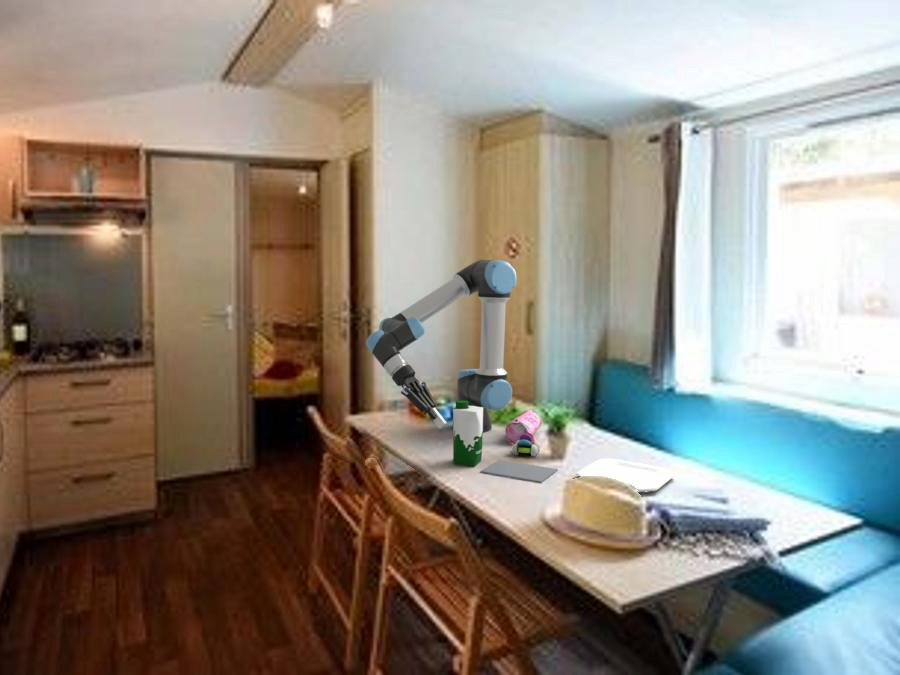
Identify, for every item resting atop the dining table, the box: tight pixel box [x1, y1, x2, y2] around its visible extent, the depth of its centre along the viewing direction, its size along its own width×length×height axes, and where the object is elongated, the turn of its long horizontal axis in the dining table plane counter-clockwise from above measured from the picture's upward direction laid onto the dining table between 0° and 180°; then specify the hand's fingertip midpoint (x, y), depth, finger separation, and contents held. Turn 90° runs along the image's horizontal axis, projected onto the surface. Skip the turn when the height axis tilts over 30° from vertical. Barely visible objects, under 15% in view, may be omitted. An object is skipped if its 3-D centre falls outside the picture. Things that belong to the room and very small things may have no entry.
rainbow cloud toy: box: [511, 432, 541, 457], centre depth 238 cm, size 8×10×7 cm
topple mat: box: [479, 459, 559, 484], centre depth 218 cm, size 20×14×1 cm
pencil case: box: [504, 409, 542, 445], centre depth 258 cm, size 21×9×9 cm, turn 158°
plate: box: [575, 458, 676, 493], centre depth 212 cm, size 25×25×2 cm
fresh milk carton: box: [452, 399, 484, 468], centre depth 225 cm, size 9×9×20 cm
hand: (443, 425), depth 229 cm, fingers closed
